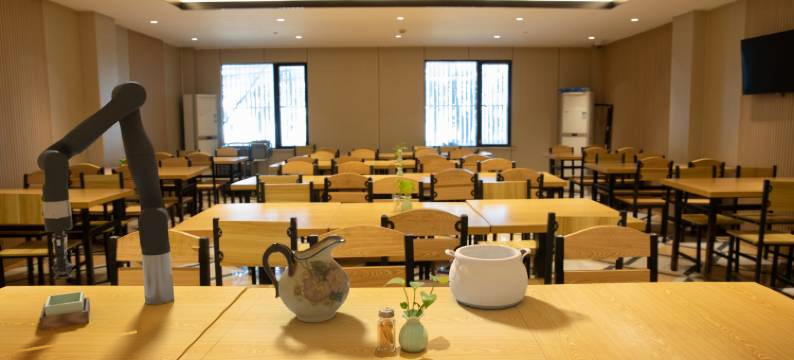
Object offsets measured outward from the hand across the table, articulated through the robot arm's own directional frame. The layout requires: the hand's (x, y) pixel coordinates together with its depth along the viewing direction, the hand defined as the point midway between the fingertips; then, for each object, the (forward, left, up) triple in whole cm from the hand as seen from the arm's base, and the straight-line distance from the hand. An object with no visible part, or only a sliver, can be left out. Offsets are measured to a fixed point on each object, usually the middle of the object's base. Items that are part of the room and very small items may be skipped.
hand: (62, 267), depth 189 cm
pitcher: (-71, +33, -18) cm, 80 cm away
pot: (-129, +45, -18) cm, 137 cm away
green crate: (0, 0, -17) cm, 17 cm away
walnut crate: (0, 0, -17) cm, 17 cm away
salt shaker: (0, 0, -3) cm, 3 cm away
